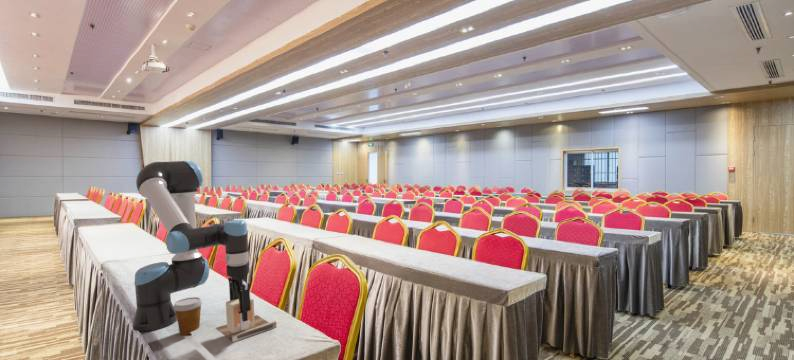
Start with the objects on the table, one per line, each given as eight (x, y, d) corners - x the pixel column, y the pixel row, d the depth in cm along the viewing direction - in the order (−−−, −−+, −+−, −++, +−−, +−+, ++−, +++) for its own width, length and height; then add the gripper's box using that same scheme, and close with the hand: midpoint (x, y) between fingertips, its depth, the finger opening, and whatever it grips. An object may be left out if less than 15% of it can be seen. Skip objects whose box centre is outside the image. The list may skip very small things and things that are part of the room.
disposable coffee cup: (197, 324, 153) (195, 295, 152) (208, 331, 147) (206, 299, 146) (171, 333, 146) (168, 302, 145) (181, 340, 140) (179, 307, 139)
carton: (249, 322, 145) (247, 296, 145) (255, 326, 142) (253, 299, 141) (227, 329, 140) (225, 301, 139) (232, 333, 136) (231, 305, 136)
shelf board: (215, 331, 146) (215, 322, 146) (257, 318, 157) (256, 310, 157) (233, 346, 134) (232, 336, 133) (276, 331, 145) (276, 321, 145)
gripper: (217, 261, 143) (221, 323, 145) (237, 270, 130) (241, 338, 132) (238, 257, 149) (241, 317, 150) (258, 265, 136) (262, 330, 137)
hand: (241, 326), depth 141 cm, fingers closed on carton, 5 cm apart
